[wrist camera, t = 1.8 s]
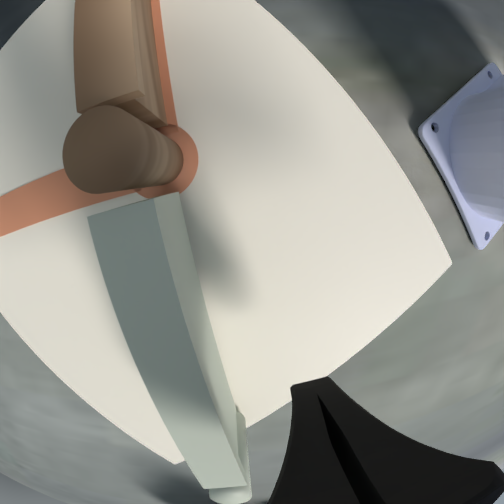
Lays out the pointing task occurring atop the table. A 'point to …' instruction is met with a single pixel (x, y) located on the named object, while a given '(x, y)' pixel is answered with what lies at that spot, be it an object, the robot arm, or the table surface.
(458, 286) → the table surface
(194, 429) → the fence gate
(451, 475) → the robot arm
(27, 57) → the board
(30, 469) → the table surface
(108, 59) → the bar
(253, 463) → the table surface
